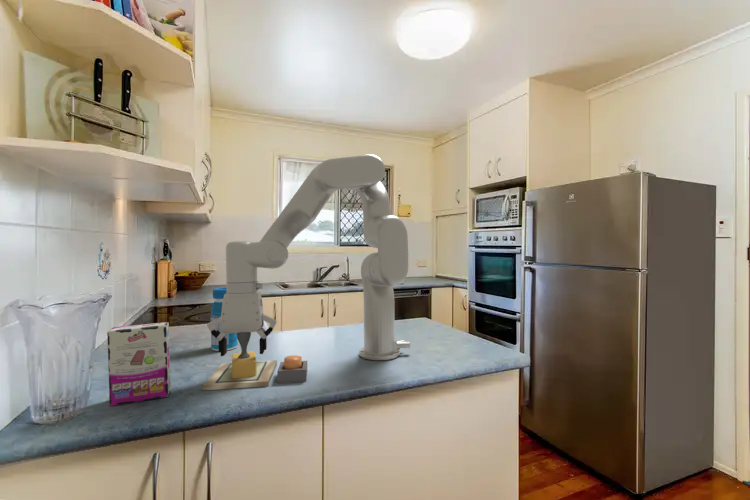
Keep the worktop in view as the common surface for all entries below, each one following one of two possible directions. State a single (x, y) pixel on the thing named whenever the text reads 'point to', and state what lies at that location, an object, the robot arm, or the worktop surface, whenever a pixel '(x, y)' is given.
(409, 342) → the robot arm
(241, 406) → the worktop surface
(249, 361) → the rubber stamp
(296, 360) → the button
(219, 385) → the picture board
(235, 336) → the beverage bottle
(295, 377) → the button housing
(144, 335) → the candy bar box
